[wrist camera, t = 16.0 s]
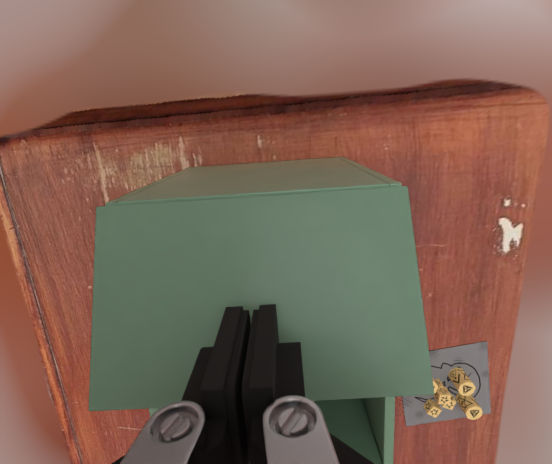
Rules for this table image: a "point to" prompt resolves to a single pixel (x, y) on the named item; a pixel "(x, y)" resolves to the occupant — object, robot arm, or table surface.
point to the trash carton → (289, 180)
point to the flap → (259, 292)
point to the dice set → (453, 386)
